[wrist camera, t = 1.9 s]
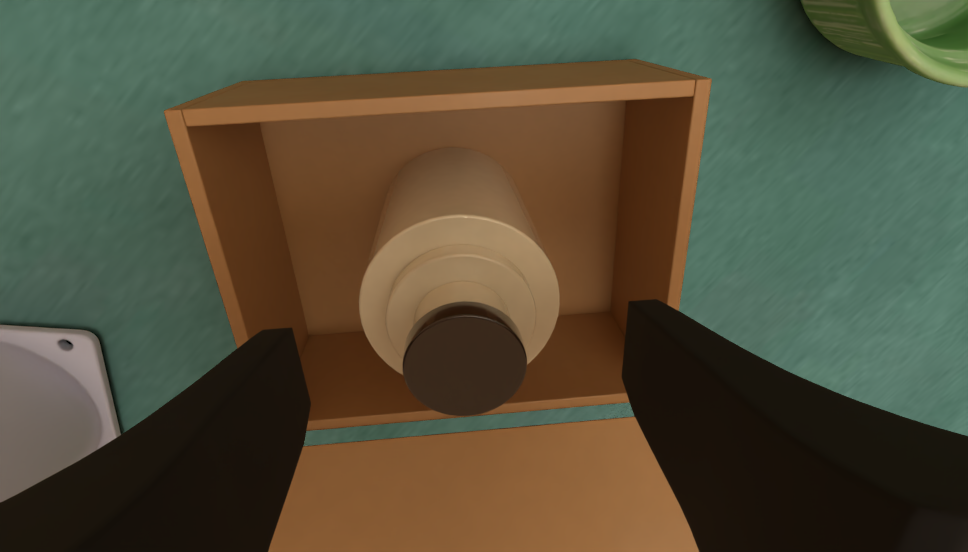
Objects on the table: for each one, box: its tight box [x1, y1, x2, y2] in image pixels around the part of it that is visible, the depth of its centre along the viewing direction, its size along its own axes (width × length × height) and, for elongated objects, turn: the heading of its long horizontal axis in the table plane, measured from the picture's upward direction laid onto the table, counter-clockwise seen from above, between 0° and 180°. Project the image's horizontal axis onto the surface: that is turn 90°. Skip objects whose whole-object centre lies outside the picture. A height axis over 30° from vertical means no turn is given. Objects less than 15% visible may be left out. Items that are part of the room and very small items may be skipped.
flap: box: [268, 417, 699, 552], centre depth 15 cm, size 5×13×1 cm
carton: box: [164, 59, 712, 431], centre depth 17 cm, size 10×13×5 cm
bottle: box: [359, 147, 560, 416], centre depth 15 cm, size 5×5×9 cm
